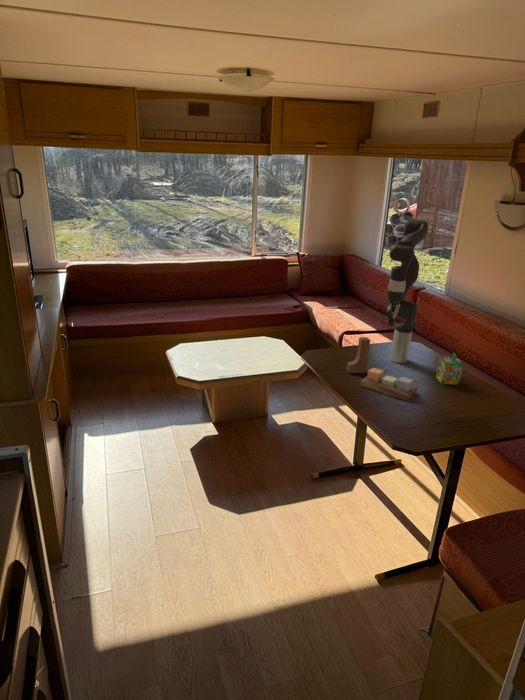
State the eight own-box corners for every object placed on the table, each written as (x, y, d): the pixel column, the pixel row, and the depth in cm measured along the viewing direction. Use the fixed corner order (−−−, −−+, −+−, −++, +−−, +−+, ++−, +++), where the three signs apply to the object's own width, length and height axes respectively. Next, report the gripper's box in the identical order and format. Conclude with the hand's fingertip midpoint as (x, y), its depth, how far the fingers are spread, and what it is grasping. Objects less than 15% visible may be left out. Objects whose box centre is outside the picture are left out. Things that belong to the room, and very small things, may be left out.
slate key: (400, 386, 234) (402, 376, 233) (411, 389, 231) (413, 379, 230) (395, 389, 230) (397, 379, 229) (407, 393, 227) (408, 383, 225)
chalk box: (434, 377, 253) (440, 350, 248) (452, 377, 254) (458, 350, 248) (441, 384, 245) (446, 356, 239) (459, 385, 245) (465, 357, 240)
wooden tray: (372, 378, 247) (372, 372, 246) (416, 392, 234) (417, 386, 233) (360, 385, 238) (361, 379, 237) (406, 400, 225) (407, 394, 224)
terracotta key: (371, 376, 243) (373, 367, 241) (382, 380, 240) (383, 370, 238) (366, 380, 239) (368, 370, 237) (377, 383, 236) (378, 373, 234)
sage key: (385, 384, 239) (387, 375, 238) (396, 388, 236) (397, 378, 234) (380, 388, 235) (382, 378, 233) (391, 391, 232) (392, 382, 230)
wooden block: (348, 373, 251) (353, 339, 245) (346, 369, 255) (350, 336, 249) (365, 373, 252) (370, 340, 246) (363, 369, 257) (367, 337, 250)
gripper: (394, 285, 235) (389, 320, 242) (382, 290, 226) (377, 326, 232) (409, 288, 231) (404, 324, 237) (398, 293, 221) (392, 330, 228)
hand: (390, 325), depth 235 cm, fingers closed
